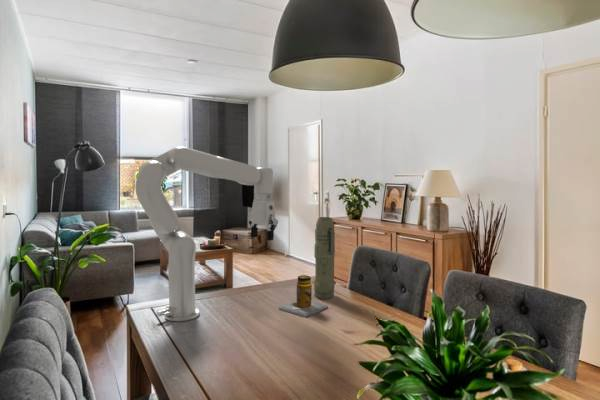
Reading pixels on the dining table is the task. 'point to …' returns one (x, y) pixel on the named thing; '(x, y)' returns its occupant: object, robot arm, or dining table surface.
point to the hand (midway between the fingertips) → (261, 238)
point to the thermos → (324, 258)
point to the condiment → (303, 293)
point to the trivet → (304, 312)
